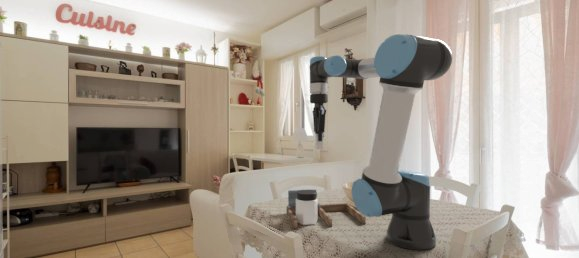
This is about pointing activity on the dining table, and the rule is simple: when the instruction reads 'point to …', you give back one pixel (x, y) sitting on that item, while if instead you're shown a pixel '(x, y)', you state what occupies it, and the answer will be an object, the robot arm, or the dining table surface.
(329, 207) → the wooden divider rails
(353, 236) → the dining table surface
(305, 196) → the jar
